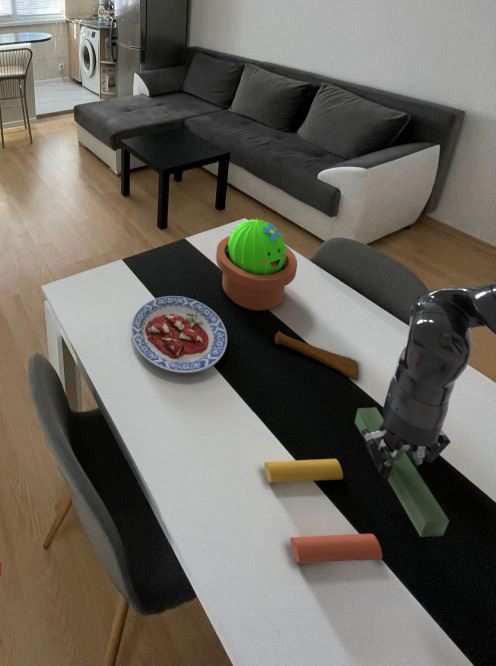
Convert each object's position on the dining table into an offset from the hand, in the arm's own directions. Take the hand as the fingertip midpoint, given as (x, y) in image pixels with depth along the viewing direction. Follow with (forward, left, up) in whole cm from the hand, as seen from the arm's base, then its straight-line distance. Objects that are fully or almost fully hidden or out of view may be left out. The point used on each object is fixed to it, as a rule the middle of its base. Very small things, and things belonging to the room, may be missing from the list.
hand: (394, 472), depth 75 cm
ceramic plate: (+30, -41, -11) cm, 52 cm away
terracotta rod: (+12, +6, -11) cm, 17 cm away
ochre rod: (+12, -6, -11) cm, 17 cm away
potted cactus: (+4, -57, -11) cm, 58 cm away
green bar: (0, 0, 0) cm, 0 cm away
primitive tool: (-4, -33, -11) cm, 35 cm away
